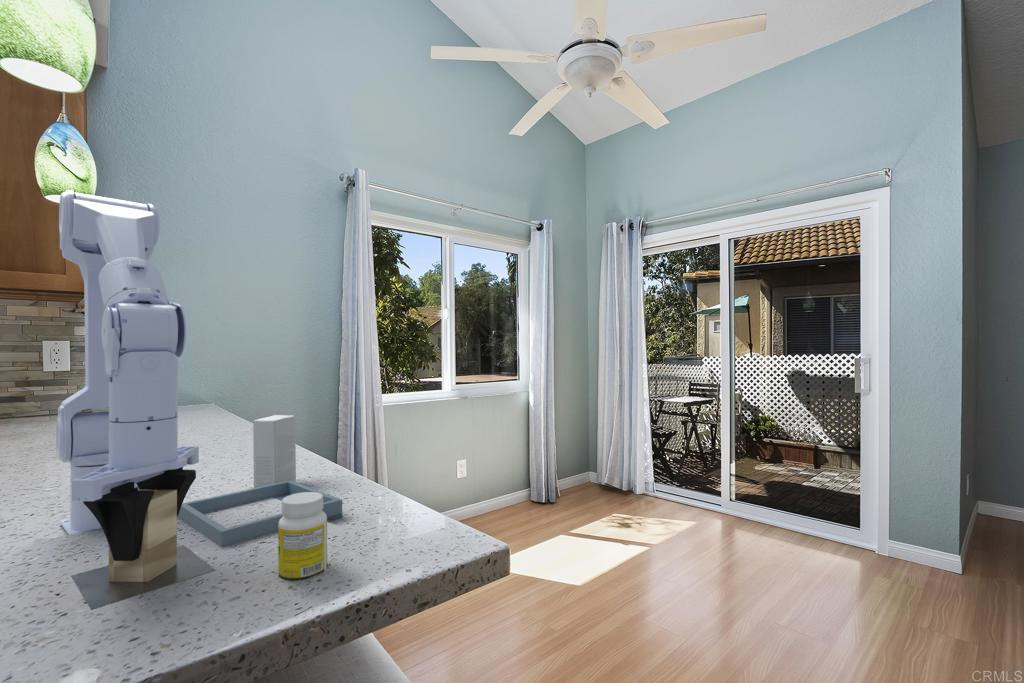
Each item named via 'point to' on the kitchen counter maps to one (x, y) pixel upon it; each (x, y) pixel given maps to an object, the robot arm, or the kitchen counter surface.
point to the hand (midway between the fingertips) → (144, 549)
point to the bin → (226, 536)
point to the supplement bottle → (302, 537)
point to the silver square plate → (105, 592)
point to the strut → (152, 542)
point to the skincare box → (274, 450)
